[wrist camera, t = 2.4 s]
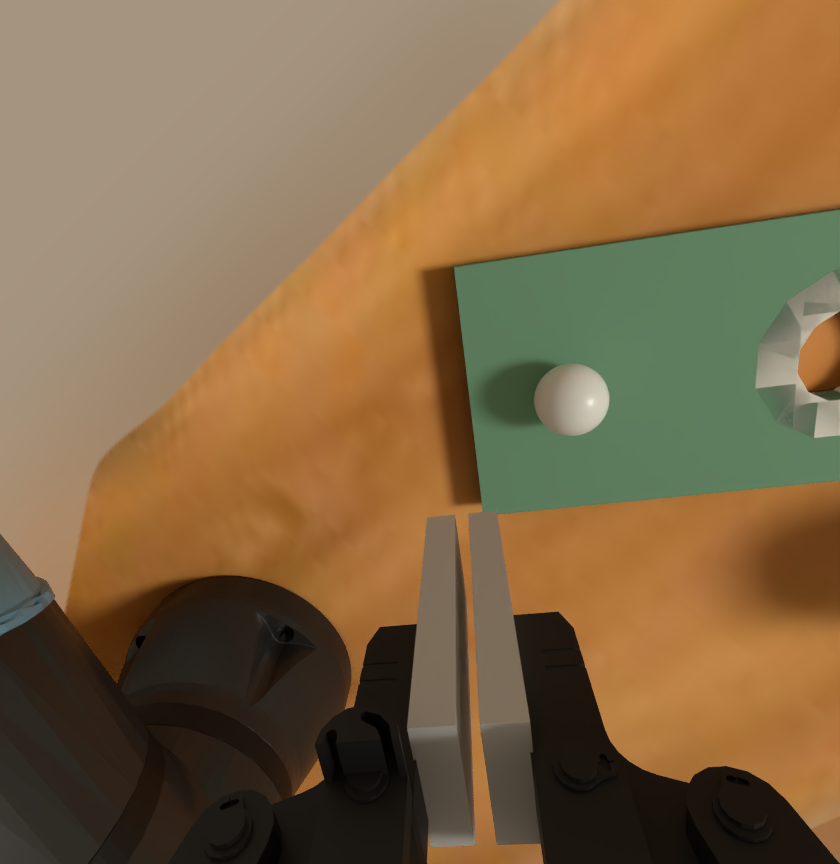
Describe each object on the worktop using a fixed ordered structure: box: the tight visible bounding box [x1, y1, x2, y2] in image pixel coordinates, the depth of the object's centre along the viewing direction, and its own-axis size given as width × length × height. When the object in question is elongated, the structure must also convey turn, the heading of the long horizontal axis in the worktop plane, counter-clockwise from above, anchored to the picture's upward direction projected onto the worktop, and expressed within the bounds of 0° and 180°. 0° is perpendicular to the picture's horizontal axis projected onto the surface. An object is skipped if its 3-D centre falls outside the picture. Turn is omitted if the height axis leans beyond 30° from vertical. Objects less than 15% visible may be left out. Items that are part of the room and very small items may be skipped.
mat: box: [454, 208, 840, 514], centre depth 28 cm, size 24×14×2 cm, turn 98°
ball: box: [534, 364, 609, 436], centre depth 26 cm, size 4×4×4 cm
